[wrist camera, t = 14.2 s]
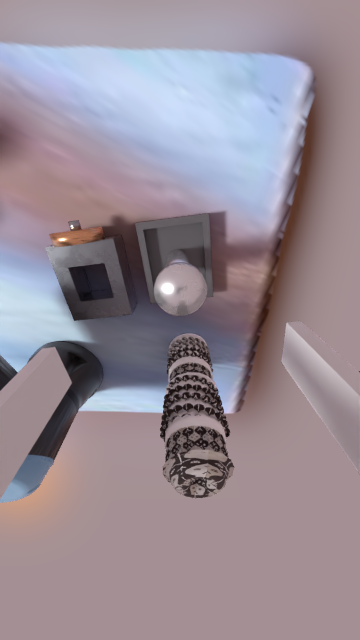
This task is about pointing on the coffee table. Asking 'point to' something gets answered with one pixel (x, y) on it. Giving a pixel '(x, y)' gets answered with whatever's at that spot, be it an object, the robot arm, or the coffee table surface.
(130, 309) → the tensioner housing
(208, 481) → the decorative candle
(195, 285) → the lock pin
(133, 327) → the coffee table surface
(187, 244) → the tray
